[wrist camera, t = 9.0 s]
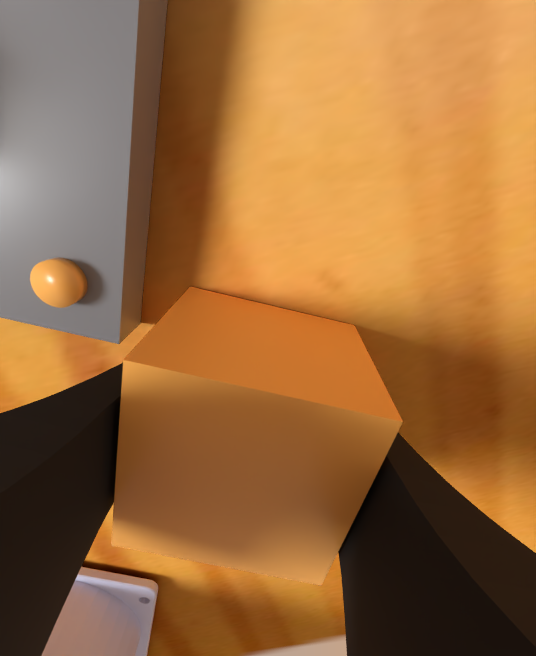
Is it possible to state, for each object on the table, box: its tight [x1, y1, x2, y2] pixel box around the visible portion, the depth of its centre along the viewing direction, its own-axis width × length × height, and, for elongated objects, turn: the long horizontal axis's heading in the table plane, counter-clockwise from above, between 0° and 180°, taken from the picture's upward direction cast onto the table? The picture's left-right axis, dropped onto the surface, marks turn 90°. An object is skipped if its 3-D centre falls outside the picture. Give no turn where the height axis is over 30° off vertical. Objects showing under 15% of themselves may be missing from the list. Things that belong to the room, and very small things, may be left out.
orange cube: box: [111, 287, 403, 586], centre depth 9 cm, size 5×5×5 cm
